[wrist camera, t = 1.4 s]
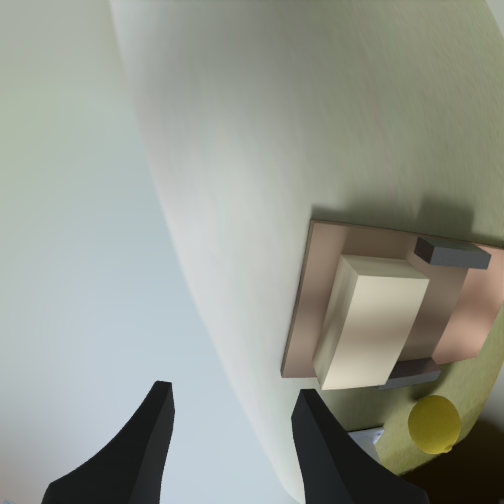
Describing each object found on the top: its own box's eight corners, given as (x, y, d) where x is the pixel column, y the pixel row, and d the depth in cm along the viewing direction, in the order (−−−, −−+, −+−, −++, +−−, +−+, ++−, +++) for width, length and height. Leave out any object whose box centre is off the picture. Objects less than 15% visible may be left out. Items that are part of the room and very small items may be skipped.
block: (370, 358, 20) (384, 384, 18) (312, 361, 20) (321, 390, 17) (406, 260, 17) (429, 279, 15) (340, 254, 17) (358, 275, 14)
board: (472, 352, 23) (476, 357, 22) (280, 370, 21) (281, 377, 20) (514, 250, 19) (519, 253, 18) (310, 219, 17) (314, 222, 16)
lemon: (429, 375, 23) (464, 429, 16) (445, 388, 25) (476, 436, 17) (389, 408, 25) (416, 465, 17) (410, 418, 26) (434, 467, 19)
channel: (426, 366, 22) (435, 380, 20) (369, 374, 21) (377, 390, 19) (476, 245, 17) (491, 254, 16) (418, 236, 17) (434, 246, 15)
